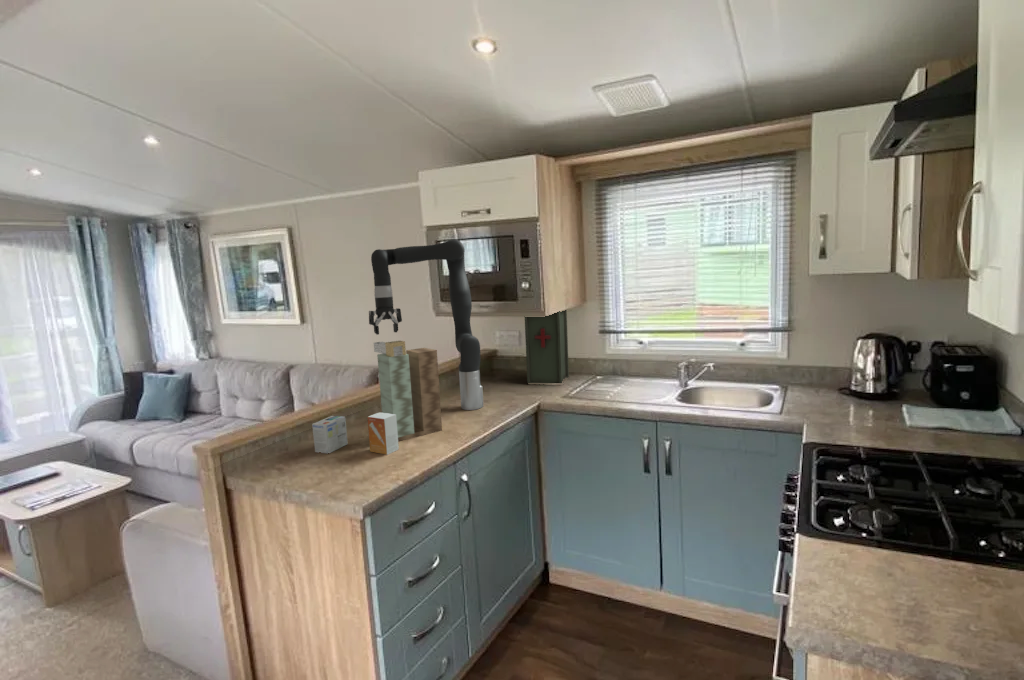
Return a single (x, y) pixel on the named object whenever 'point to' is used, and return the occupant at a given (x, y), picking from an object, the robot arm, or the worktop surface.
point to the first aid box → (547, 348)
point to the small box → (383, 433)
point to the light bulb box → (330, 434)
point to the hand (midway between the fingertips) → (386, 333)
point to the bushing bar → (390, 348)
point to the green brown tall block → (411, 391)
